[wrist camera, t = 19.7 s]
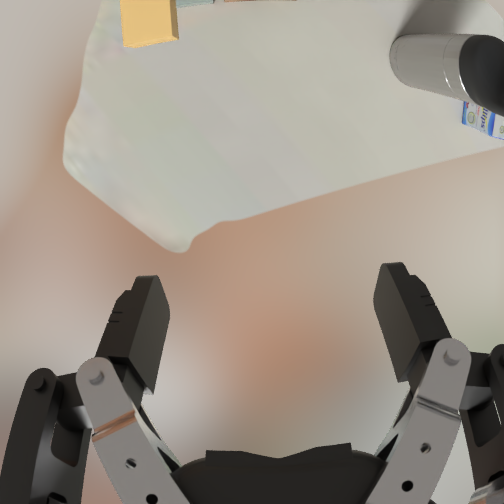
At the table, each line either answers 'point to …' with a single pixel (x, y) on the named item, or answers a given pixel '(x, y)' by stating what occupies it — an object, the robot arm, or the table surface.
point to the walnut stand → (239, 0)
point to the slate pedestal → (191, 2)
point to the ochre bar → (148, 22)
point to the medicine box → (483, 120)
